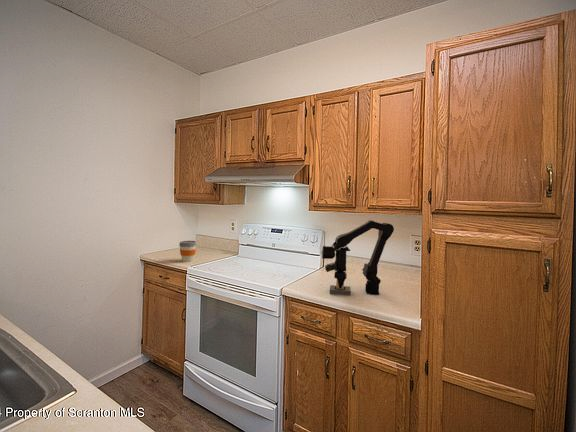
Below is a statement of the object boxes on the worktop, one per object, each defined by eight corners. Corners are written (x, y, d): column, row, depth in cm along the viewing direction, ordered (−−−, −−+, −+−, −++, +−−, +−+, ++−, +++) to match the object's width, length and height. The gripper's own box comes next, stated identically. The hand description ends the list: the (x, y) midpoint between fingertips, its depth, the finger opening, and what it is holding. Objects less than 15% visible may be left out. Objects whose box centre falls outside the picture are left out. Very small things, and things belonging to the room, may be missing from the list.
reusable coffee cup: (183, 263, 219) (183, 243, 217) (177, 260, 228) (176, 241, 227) (199, 261, 227) (198, 242, 226) (192, 258, 236) (192, 240, 235)
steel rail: (350, 291, 160) (350, 286, 160) (350, 295, 153) (350, 291, 153) (330, 289, 163) (330, 285, 162) (329, 294, 155) (329, 289, 155)
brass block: (343, 289, 159) (344, 276, 159) (343, 291, 155) (344, 278, 155) (336, 288, 160) (336, 276, 160) (336, 291, 156) (336, 278, 156)
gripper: (326, 254, 167) (326, 280, 168) (324, 261, 149) (324, 291, 150) (346, 255, 165) (345, 282, 166) (346, 263, 147) (346, 293, 148)
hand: (340, 286), depth 158 cm, fingers closed on brass block, 4 cm apart
